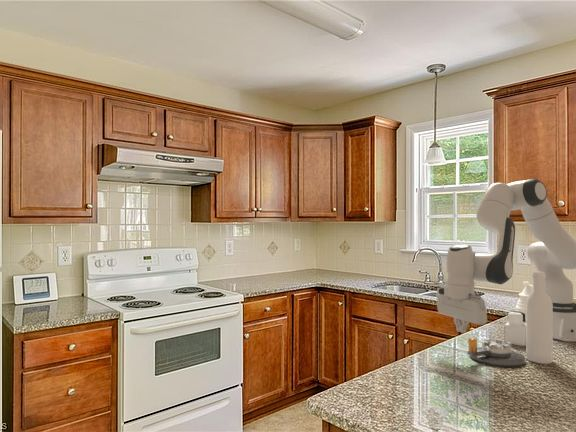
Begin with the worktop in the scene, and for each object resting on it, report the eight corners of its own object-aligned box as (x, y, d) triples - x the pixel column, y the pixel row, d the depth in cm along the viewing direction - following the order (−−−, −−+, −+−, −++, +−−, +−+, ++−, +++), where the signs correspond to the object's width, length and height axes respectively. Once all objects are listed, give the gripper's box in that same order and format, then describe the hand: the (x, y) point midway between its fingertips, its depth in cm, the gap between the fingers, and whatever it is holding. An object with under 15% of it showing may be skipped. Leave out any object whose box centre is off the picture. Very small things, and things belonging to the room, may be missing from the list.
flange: (515, 353, 154) (515, 348, 154) (532, 369, 138) (532, 363, 138) (465, 350, 158) (465, 345, 158) (475, 365, 141) (475, 360, 141)
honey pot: (519, 321, 204) (519, 283, 205) (512, 315, 217) (512, 279, 217) (549, 322, 201) (549, 284, 202) (540, 316, 214) (540, 280, 214)
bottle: (522, 359, 147) (521, 271, 147) (531, 355, 152) (531, 270, 152) (548, 365, 141) (547, 274, 141) (556, 360, 146) (556, 272, 146)
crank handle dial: (495, 348, 154) (495, 331, 154) (517, 355, 145) (517, 337, 146) (459, 354, 147) (459, 336, 147) (480, 362, 139) (480, 342, 139)
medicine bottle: (508, 339, 173) (508, 309, 173) (528, 342, 168) (528, 311, 168) (504, 343, 167) (504, 312, 167) (524, 346, 163) (524, 314, 163)
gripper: (491, 296, 140) (492, 338, 140) (447, 287, 160) (448, 324, 160) (476, 297, 138) (477, 340, 138) (433, 288, 157) (434, 326, 157)
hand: (461, 331), depth 149 cm, fingers closed
